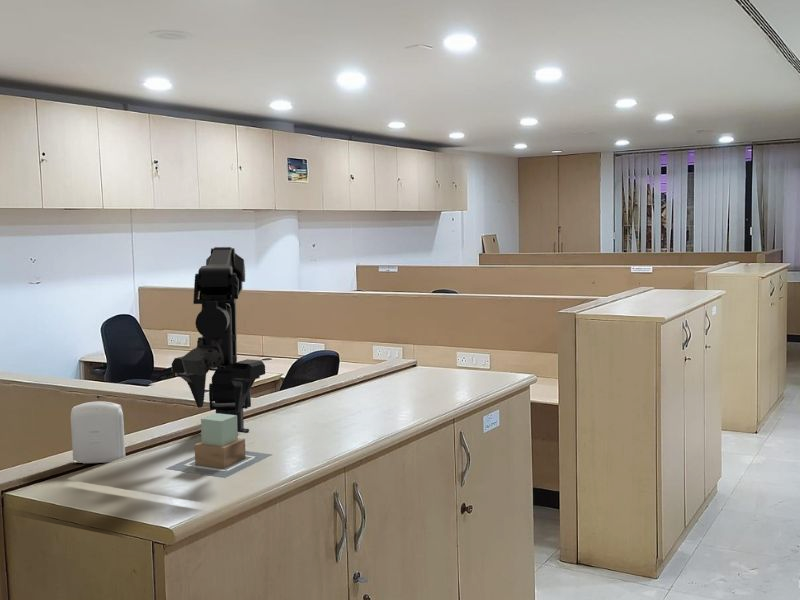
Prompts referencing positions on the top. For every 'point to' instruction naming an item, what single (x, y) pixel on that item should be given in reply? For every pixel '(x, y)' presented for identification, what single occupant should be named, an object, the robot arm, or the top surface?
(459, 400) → the top surface
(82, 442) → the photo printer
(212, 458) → the walnut block
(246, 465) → the board
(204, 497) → the top surface
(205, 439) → the sage cube
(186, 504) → the top surface
